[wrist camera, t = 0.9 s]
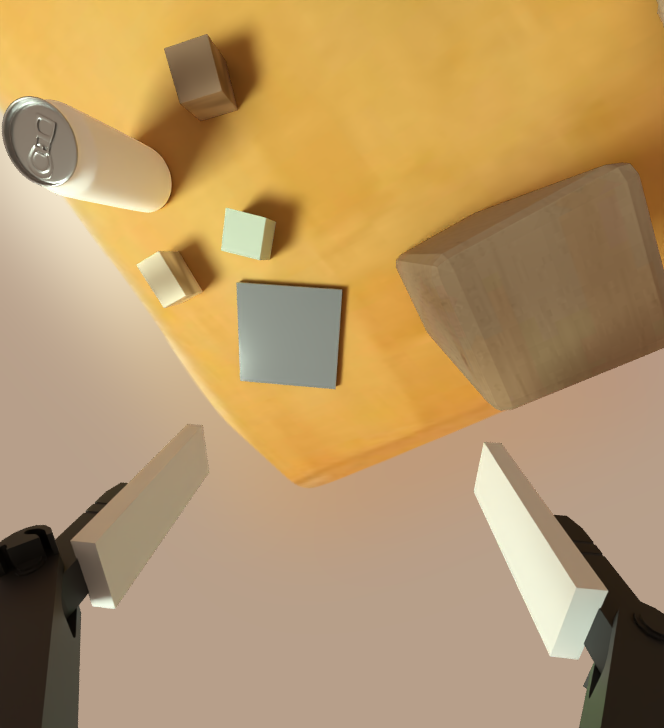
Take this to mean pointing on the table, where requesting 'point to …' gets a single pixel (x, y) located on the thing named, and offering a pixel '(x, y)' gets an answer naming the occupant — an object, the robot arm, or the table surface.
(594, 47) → the table surface
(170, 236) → the table surface
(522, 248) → the wooden block
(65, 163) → the can
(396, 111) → the table surface
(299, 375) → the slate coaster
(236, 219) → the sage painted cube
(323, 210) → the table surface
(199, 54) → the walnut block
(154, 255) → the pale birch block
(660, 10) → the fruit
